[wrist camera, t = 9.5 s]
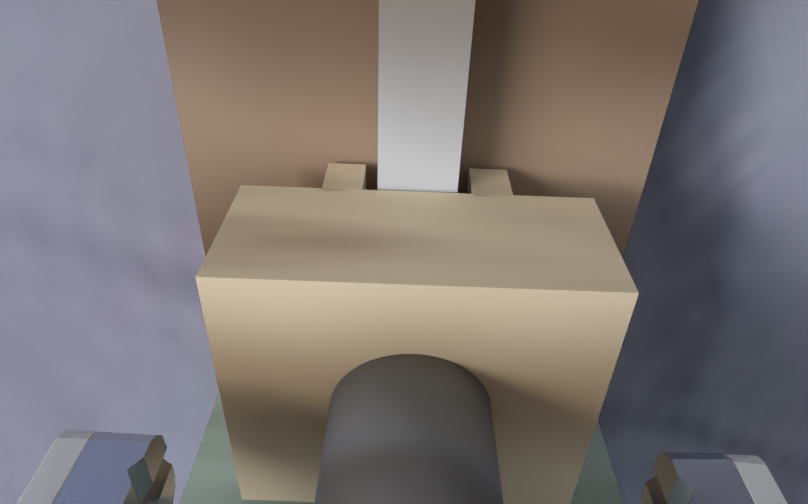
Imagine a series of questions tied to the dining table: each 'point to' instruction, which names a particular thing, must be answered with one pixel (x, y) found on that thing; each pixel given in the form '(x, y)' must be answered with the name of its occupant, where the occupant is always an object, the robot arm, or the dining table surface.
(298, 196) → the carriage
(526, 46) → the rail bed
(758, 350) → the dining table surface
